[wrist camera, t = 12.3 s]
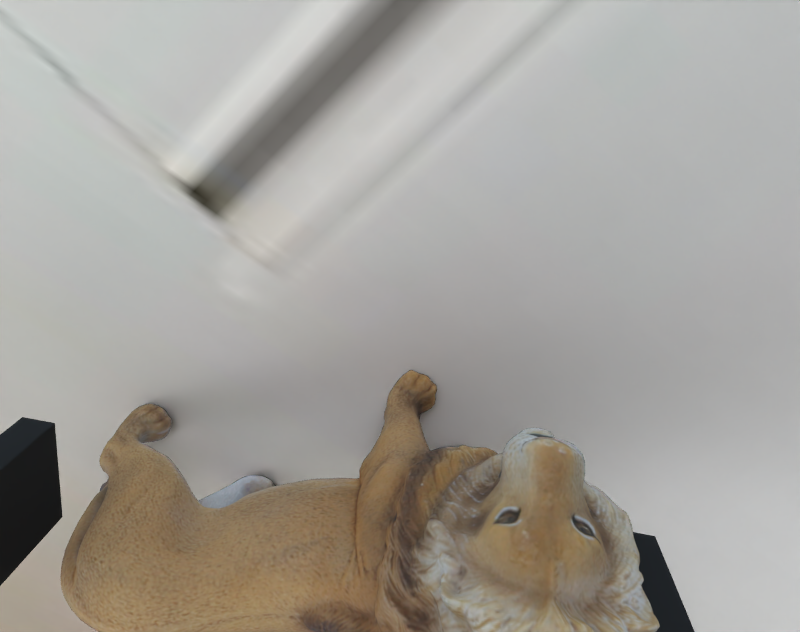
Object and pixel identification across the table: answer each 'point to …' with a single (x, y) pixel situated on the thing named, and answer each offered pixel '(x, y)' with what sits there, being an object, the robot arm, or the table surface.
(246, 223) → the table surface
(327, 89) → the table surface
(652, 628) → the lion figurine
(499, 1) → the table surface
